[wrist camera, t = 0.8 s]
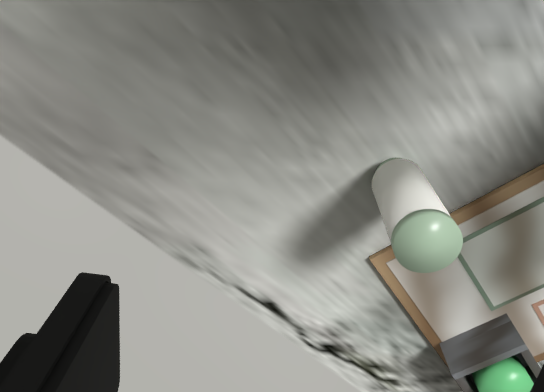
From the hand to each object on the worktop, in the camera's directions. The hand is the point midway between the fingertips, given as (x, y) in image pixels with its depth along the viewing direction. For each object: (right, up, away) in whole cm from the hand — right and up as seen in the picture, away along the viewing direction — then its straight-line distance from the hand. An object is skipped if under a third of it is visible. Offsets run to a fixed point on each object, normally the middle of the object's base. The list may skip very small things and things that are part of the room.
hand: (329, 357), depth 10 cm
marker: (+9, +5, +27) cm, 29 cm away
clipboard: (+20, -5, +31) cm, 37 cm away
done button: (+19, -12, +32) cm, 39 cm away
